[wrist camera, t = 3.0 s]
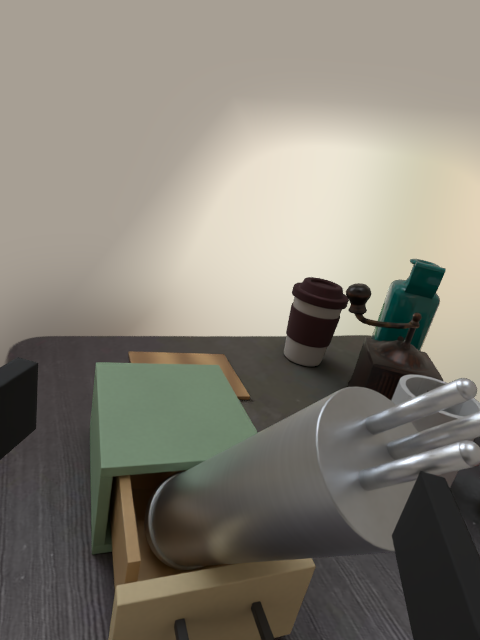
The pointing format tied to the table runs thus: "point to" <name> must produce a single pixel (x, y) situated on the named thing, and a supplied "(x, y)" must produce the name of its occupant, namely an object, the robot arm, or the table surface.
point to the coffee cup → (313, 320)
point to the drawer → (193, 583)
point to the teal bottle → (411, 303)
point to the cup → (419, 385)
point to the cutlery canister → (311, 481)
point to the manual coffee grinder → (386, 351)
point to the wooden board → (194, 359)
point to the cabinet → (156, 426)
